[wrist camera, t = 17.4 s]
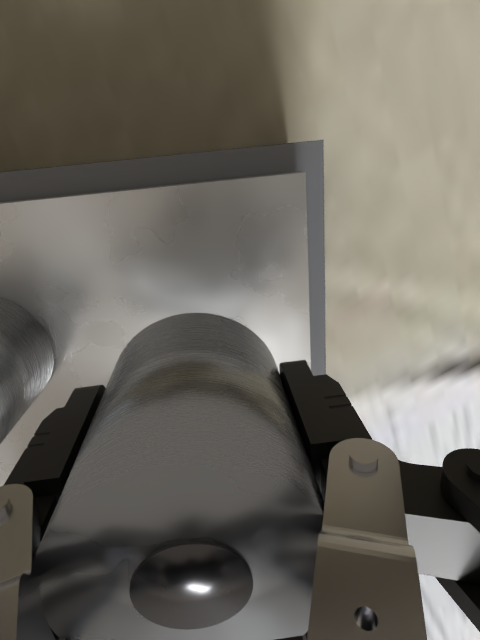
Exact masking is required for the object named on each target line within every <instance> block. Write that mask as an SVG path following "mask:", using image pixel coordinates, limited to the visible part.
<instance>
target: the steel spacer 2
mask: <svg viewBox="0 0 480 640" xmlns="http://www.w3.org/2000/svg"><path fill="white" fill-rule="evenodd" d="M324 504H325V502H324V500H323V497H322V494H321V491H320V488H319V485H318V482H317V480H316V477H315V474H314V471H313V468H312V465H311V462H310V460H309V457H308V454H307V451H306V448H305V445H304V442H303V440H302V437H301V434H300V431H299V428H298V425H297V422H296V419H295V417H294V414H293V411H292V408H291V405H290V402H289V399H288V397H287V394H286V391H285V388H284V385H283V382H282V379H281V377H280V374H279V371H278V368H277V365H276V362H275V360H274V358H273V356H272V354H271V352H270V350H269V349H268V347H267V346H266V344H265V343H264V342H263V341H262V340H261V339H260V338H259V336H258V335H256V334H255V333H254V332H253V331H252V330H250V329H249V328H247V327H246V326H244V325H242V324H241V323H239V322H237V321H234V320H232V319H230V318H227V317H223V316H220V315H215V314H209V313H184V314H178V315H173V316H170V317H167V318H164V319H161V320H159V321H157V322H155V323H152V324H151V325H149V326H147V327H146V328H144V329H143V330H141V331H140V332H139V333H138V334H137V335H135V336H134V337H133V338H132V339H131V340H130V342H129V343H128V344H127V345H126V346H125V348H124V349H123V351H122V352H121V354H120V356H119V358H118V360H117V363H116V365H115V367H114V370H113V372H112V374H111V377H110V379H109V382H108V384H107V386H106V389H105V391H104V393H103V396H102V398H101V401H100V403H99V405H98V408H97V410H96V412H95V415H94V417H93V420H92V422H91V424H90V427H89V429H88V431H87V434H86V436H85V439H84V441H83V443H82V446H81V448H80V450H79V453H78V455H77V458H76V460H75V462H74V465H73V467H72V469H71V472H70V474H69V477H68V479H67V481H66V484H65V486H64V488H63V491H62V493H61V496H60V498H59V500H58V503H57V505H56V507H55V510H54V512H53V515H52V517H51V519H50V522H49V524H48V526H47V529H46V531H45V534H44V536H43V538H42V541H41V543H40V545H39V548H38V550H37V553H36V556H35V560H34V563H35V565H36V567H37V570H38V572H39V575H40V592H41V601H42V606H43V611H44V614H45V617H46V620H47V622H48V624H49V626H50V628H51V629H52V630H53V632H54V633H55V634H56V635H57V636H58V637H62V636H66V638H67V640H276V639H282V638H289V637H295V636H301V635H302V636H303V635H304V634H305V633H306V632H307V631H308V626H309V617H310V607H311V598H312V589H313V579H314V570H315V561H316V551H317V542H318V535H319V531H322V524H323V514H324Z"/></svg>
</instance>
